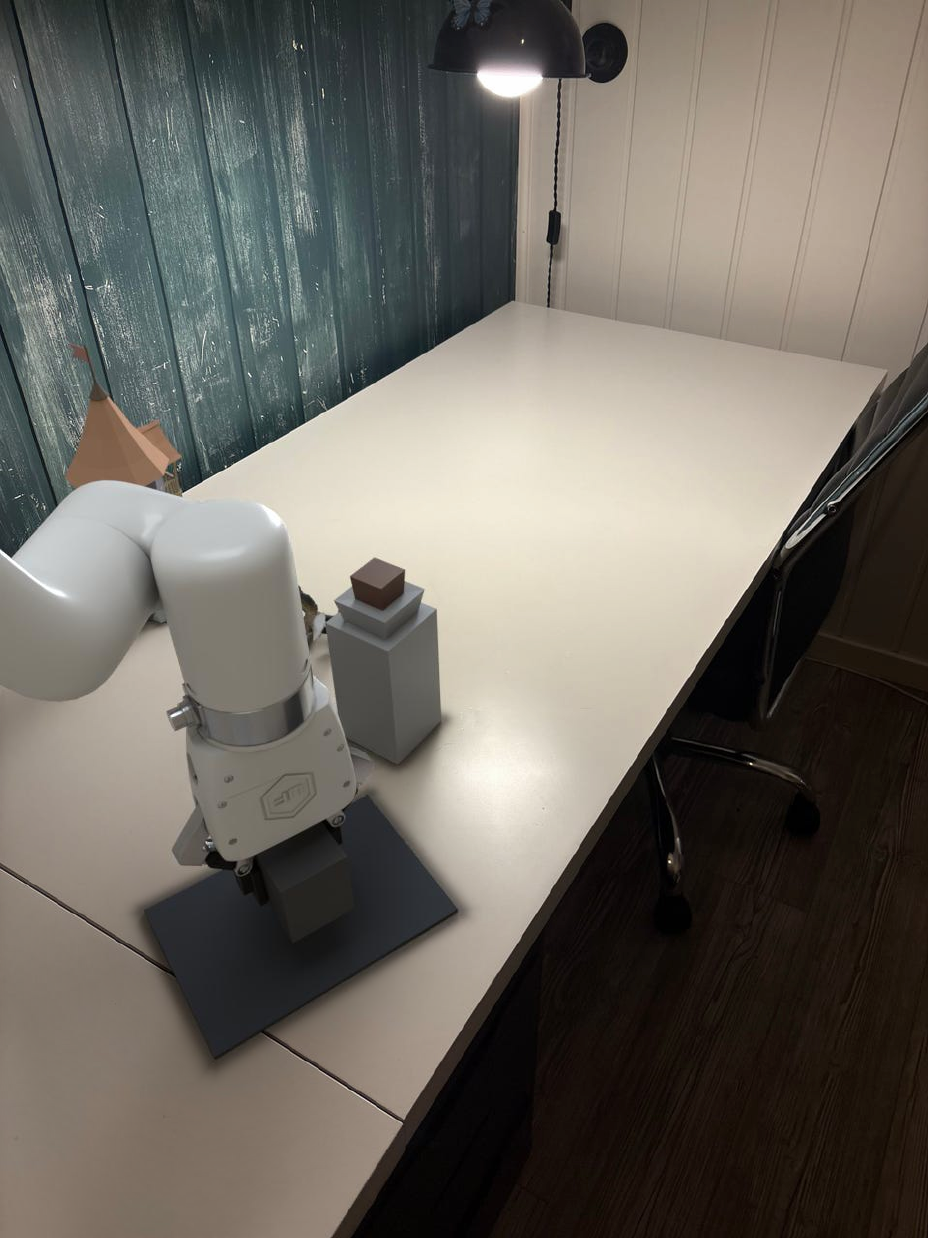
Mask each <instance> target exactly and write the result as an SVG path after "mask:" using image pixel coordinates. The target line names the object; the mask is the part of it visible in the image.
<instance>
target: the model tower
mask: <svg viewBox="0 0 928 1238" xmlns="http://www.w3.org/2000/svg"><path fill="white" fill-rule="evenodd" d="M68 344H69V346H70V347H71V348H72V350H73V354H72V358H75V359H78V360H81V361H84V362H87V363H88V366H89V369H90V374H91V378H92V381H93V384H92V387H91V390H90V393H89V395H88V400H89V404H88V408H87V414H86V417H85V421H84V425H83V430H82V434H81V435H80V436H81V437H80V439H79V443H78V446H77V449H76V452H75V454H74V457H73V459H72V461H71V463H70V465H69V467H68V469H67V471H66V472H65V475H64V478H65V479H66V481H68V483H69V484H70V485H71V486H72V487H73V488H74V490H76V489H77V488H79V487H80V486H82V485H85V484H88V483H91V482H95V481H102V480H111V481H121V482H127V483H132V484H136V485H140V486H144V487H148V488H151V489H155V490H158V491H162V492H165V493H169V494H172V495H176V496H180V497H183V492H182V489H181V487H180V483H179V476H178V473H177V465H178V464H177V461H178V460H179V459H181V458H183V456H182V455H181V454H180V453H179V452H178V451H177V450H176V449H175V446H173V445H172V444H171V442H170V441H169V440H168V438H167V436H166V434H165V432H164V431H163V429H162V427H161V425H160V423H159V420H158V419H155V420H153V421H151V422H149V423H147V424H144V425H142V426H138V427H135V426H134V425H133V424H132V423H131V422H130V421H129V420H128V418H127V417H126V416H125V415H124V414H123V412H122V411H121V410H120V408H119V407H118V406H117V405H116V404H115V403H114V401H113V400H112V398H111V397H110V393H109V392H108V391H107V390H106V389H104V388H103V387H102V386H101V384H100V383H98V380H97V377H96V374H95V371H94V367H93V363H92V361H91V360H92V359H91V357H90V354H89V349H88V346H87V344H86V343H84V347H82V346H79V345H77V344H74V343H71V342H68ZM170 465H171V466H172V471H173V472H172V473H173V474H172V473H170V472H169V471H166V470H167V468H168V466H170ZM147 621H156V622H158V623H160V624H163V623H165V622H167V619H166V616H165V612H164V610H158V611H157V612H155V613H153V614H151V615H150V616H149V618H148V619H147Z"/></svg>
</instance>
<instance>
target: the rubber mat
mask: <svg viewBox="0 0 928 1238" xmlns="http://www.w3.org/2000/svg"><path fill="white" fill-rule="evenodd" d="M343 813H344V815H345V817H346V818H345V821H344V822H343V823H342V824H341V825H340V828H341V834H342V841H343V843H342V844H341V845H339V847H340V848H341V850H342V851H343V852H344V854H345V855H346V857H347V863H348V869H349V875H350V881H351V887H352V893H353V899H354V906H355V908H354V909H352V910H350V911H349V912H347V913H345V914H343V915H342V916H340V917H338V918H336V919H335V920H333V921H331V922H329V923H328V924H326V925H324V926H322V927H321V928H319V929H317V930H316V931H314V932H312V933H310V934H309V935H307V936H305V937H303V938H302V939H300V940H298V941H296V942H295V943H292V942H291V941H290V939H289V937H288V936H287V934H286V932H285V931H284V929H283V927H282V926H281V924H280V922H279V921H278V919H277V917H276V916H275V914H274V913H273V911H272V909H271V908H270V906H269V904H268V903H267V904H265V905H263V906H261V907H260V905H259V904H258V902H257V900H256V899H255V897H254V895H253V894H252V892H251V893H249V894H247V895H246V896H244V895H243V893H242V892H241V890H240V888H239V886H238V884H237V882H236V879H235V875H234V872H233V871H231V870H222V869H220V870H219V871H216V872H215V873H213V874H211V875H209V876H207V877H205V878H203V879H201V880H199V881H197V882H195V883H194V884H191V885H189V886H187V887H186V888H184V889H182V890H180V891H177V892H176V893H174V894H172V895H170V896H168V897H166V898H164V899H163V900H160V901H158V902H156V903H155V904H153V905H151V906H149V907H146V908H145V909H143V912H144V914H145V916H146V919H147V920H148V923H149V924H150V926H151V929H152V931H153V933H154V935H155V937H156V939H157V941H158V943H159V945H160V947H161V949H162V953H163V954H164V956H165V958H166V960H167V963H168V965H169V966H170V968H171V971H172V972H173V973H172V974H173V975H174V977H175V980H176V981H177V983H178V985H179V987H180V990H181V991H182V994H183V996H184V998H185V1000H186V1002H187V1004H188V1006H189V1008H190V1010H191V1013H192V1014H193V1016H194V1019H195V1021H196V1023H197V1025H198V1027H199V1029H200V1031H201V1033H202V1035H203V1037H204V1039H205V1042H206V1044H207V1046H208V1048H209V1050H210V1052H211V1054H212V1057H213V1058H214V1060H217V1059H218V1058H220V1057H222V1056H223V1055H225V1054H227V1053H228V1052H230V1051H232V1050H234V1049H235V1048H236V1047H238V1046H240V1045H241V1044H243V1043H245V1042H246V1041H248V1040H249V1039H251V1038H253V1037H254V1036H256V1035H258V1034H260V1033H261V1032H263V1031H264V1030H266V1029H268V1028H269V1027H271V1026H272V1025H274V1024H276V1023H278V1022H279V1021H281V1020H283V1019H284V1018H285V1017H287V1016H289V1015H291V1014H293V1013H294V1012H296V1011H297V1010H299V1009H300V1008H302V1007H304V1006H305V1005H307V1004H309V1003H310V1002H312V1001H314V1000H315V999H317V998H318V997H320V996H321V995H323V994H325V993H326V992H328V991H330V990H331V989H333V988H335V987H337V986H338V985H340V984H342V983H343V982H345V981H346V980H348V979H349V978H351V977H353V976H355V975H356V974H358V973H359V972H361V971H363V970H365V969H366V968H368V967H370V966H371V965H372V964H375V963H376V962H377V961H379V960H381V959H383V958H384V957H386V956H387V955H389V954H390V953H392V952H394V951H395V950H397V949H399V948H400V947H402V946H403V945H406V944H407V943H409V942H410V941H412V940H414V939H415V938H417V937H419V936H420V935H422V934H423V933H425V932H426V931H429V930H430V929H431V928H433V927H435V926H437V925H438V924H439V923H441V922H443V921H445V920H446V919H448V918H450V917H451V916H453V915H455V914H456V913H458V912H459V908H458V907H457V906H456V905H455V903H454V902H453V901H452V899H451V898H450V897H449V896H448V895H447V893H446V892H445V890H444V889H443V888H442V887H441V885H439V882H438V881H436V879H435V878H434V877H433V876H432V874H431V873H430V872H429V870H428V869H427V868H426V867H425V865H424V864H423V863H422V862H421V860H420V859H419V858H418V856H417V855H416V854H415V853H414V851H413V850H412V848H410V846H409V845H408V844H407V842H406V841H405V839H403V837H402V836H401V835H400V834H399V832H398V831H397V830H396V829H395V827H394V826H393V825H392V824H391V822H390V821H389V820H388V818H387V817H386V816H385V815H384V814H383V812H382V811H381V810H380V808H379V807H378V805H376V803H375V802H374V801H373V799H371V797H370V796H369V794H366V795H364V796H362V797H360V798H358V799H357V800H355V801H353V802H350V804H349V805H348V807H347V808H346V810H345V811H344V812H343Z"/></svg>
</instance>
